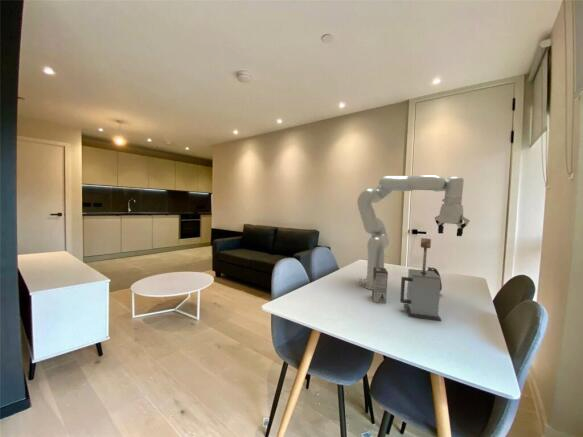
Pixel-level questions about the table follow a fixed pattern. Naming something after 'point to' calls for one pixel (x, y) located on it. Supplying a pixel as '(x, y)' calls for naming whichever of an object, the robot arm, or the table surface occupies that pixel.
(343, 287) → the table surface
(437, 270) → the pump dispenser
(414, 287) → the press
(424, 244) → the plunger
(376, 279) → the coffee box
